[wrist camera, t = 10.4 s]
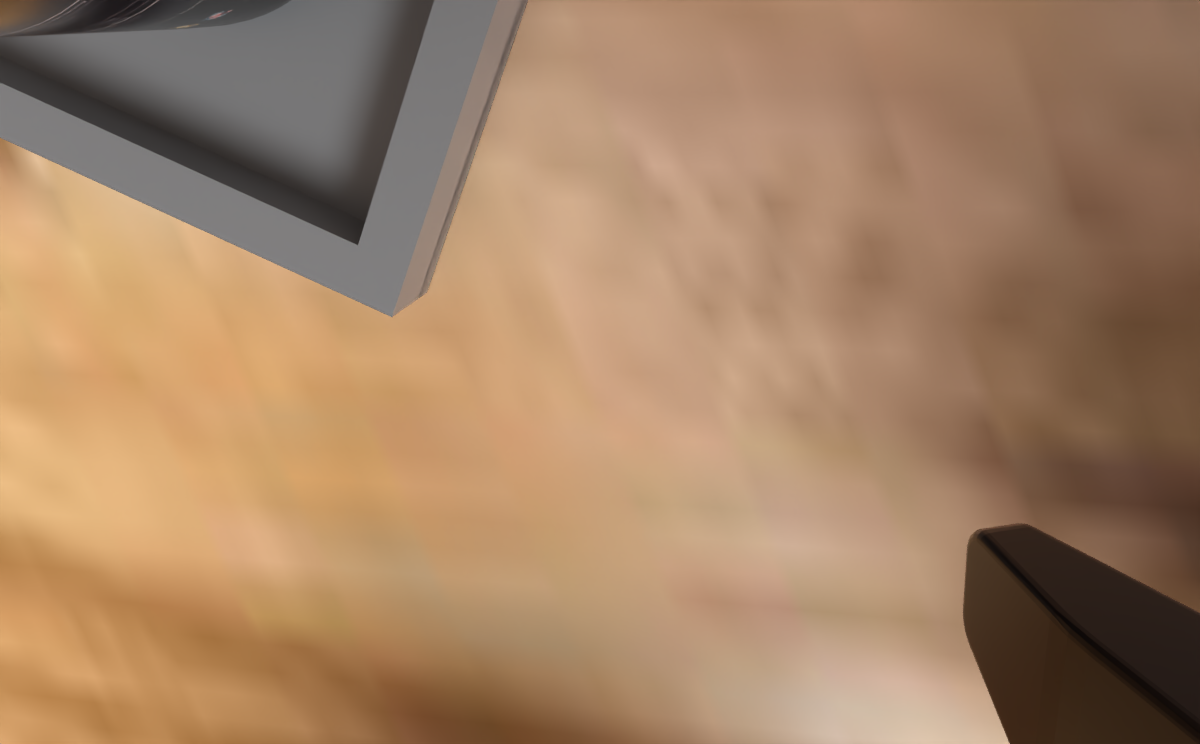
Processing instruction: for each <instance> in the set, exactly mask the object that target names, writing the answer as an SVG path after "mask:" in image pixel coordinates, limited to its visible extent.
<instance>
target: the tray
mask: <svg viewBox="0 0 1200 744" xmlns="http://www.w3.org/2000/svg"><path fill="white" fill-rule="evenodd" d="M527 2H528V0H291V1H289V2H288V3H286V4H285V5H283V6H282V7H280V8H278V9H276V10H274V11H272V12H270V13H268V14H266V15H263V16H260V17H257V18H254V19H252V20H248V21H243V22H239V23H234V24H230V25H223V26H214V27H202V28H189V29H174V30H152V31H129V32H106V33H83V34H61V35H38V36H15V37H0V138H2V139H4V140H7V141H9V142H11V143H13V144H15V145H17V146H20V147H22V148H24V149H26V150H28V151H31V152H33V153H35V154H37V155H39V156H42V157H44V158H46V159H48V160H50V161H52V162H55V163H57V164H59V165H61V166H63V167H66V168H68V169H70V170H72V171H74V172H76V173H79V174H81V175H83V176H85V177H87V178H90V179H92V180H94V181H96V182H98V183H100V184H103V185H105V186H107V187H109V188H111V189H114V190H116V191H118V192H120V193H122V194H124V195H127V196H129V197H131V198H133V199H135V200H138V201H140V202H142V203H144V204H146V205H148V206H151V207H153V208H155V209H157V210H159V211H162V212H164V213H166V214H168V215H170V216H172V217H175V218H177V219H179V220H181V221H183V222H186V223H188V224H190V225H192V226H194V227H196V228H199V229H201V230H203V231H205V232H207V233H210V234H212V235H214V236H216V237H218V238H220V239H223V240H225V241H227V242H229V243H231V244H234V245H236V246H238V247H240V248H242V249H245V250H247V251H249V252H251V253H253V254H255V255H258V256H260V257H262V258H264V259H266V260H269V261H271V262H273V263H275V264H277V265H279V266H282V267H284V268H286V269H288V270H290V271H293V272H295V273H297V274H299V275H301V276H303V277H306V278H308V279H310V280H312V281H314V282H317V283H319V284H321V285H323V286H325V287H327V288H330V289H332V290H334V291H336V292H338V293H341V294H343V295H345V296H347V297H349V298H351V299H354V300H356V301H358V302H360V303H362V304H365V305H367V306H369V307H371V308H373V309H375V310H378V311H380V312H382V313H384V314H386V315H389V316H391V317H393V316H394V315H396V314H397V313H398V312H400V311H401V310H403V309H404V308H405V307H407V306H408V305H410V304H411V303H413V302H414V301H415V300H417V299H418V298H420V297H421V296H422V295H424V294H425V293H427V291H428V288H429V285H430V282H431V279H432V276H433V273H434V270H435V267H436V265H437V262H438V259H439V256H440V253H441V250H442V247H443V244H444V241H445V239H446V236H447V233H448V230H449V227H450V224H451V221H452V218H453V215H454V213H455V210H456V207H457V204H458V201H459V198H460V195H461V192H462V189H463V187H464V184H465V181H466V178H467V175H468V172H469V169H470V166H471V163H472V161H473V158H474V155H475V152H476V149H477V146H478V143H479V140H480V137H481V134H482V132H483V129H484V126H485V123H486V120H487V117H488V114H489V111H490V108H491V106H492V103H493V100H494V97H495V94H496V91H497V88H498V85H499V82H500V80H501V77H502V74H503V71H504V68H505V65H506V62H507V59H508V56H509V54H510V51H511V48H512V45H513V42H514V39H515V36H516V33H517V30H518V28H519V25H520V22H521V19H522V16H523V13H524V10H525V7H526V4H527Z"/></svg>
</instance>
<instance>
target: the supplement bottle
mask: <svg viewBox="0 0 1200 744" xmlns="http://www.w3.org/2000/svg"><path fill="white" fill-rule="evenodd" d="M289 1H291V0H0V37H15V36H38V35H61V34H83V33H106V32H129V31H152V30H174V29H189V28H202V27H214V26H223V25H230V24H234V23H239V22H243V21H248V20H252V19H254V18H257V17H260V16H263V15H266V14H268V13H270V12H272V11H274V10H276V9H278V8H280V7H282V6H283V5H285V4H286V3H288V2H289Z"/></svg>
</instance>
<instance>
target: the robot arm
mask: <svg viewBox="0 0 1200 744" xmlns="http://www.w3.org/2000/svg"><path fill="white" fill-rule="evenodd" d="M963 619H964V626H965V632H966V635H967V639H968V642H969V645H970V647H971V650H972V652H973V655H974V657H975V660H976V662H977V665H978V667H979V669H980V672H981V674H982V677H983V679H984V682H985V684H986V687H987V689H988V692H989V694H990V696H991V699H992V701H993V704H994V706H995V709H996V711H997V714H998V716H999V719H1000V721H1001V724H1002V726H1003V728H1004V731H1005V733H1006V736H1007V738H1008V741H1009V743H1010V744H1200V613H1199V612H1197V611H1195V610H1193V609H1191V608H1189V607H1187V606H1186V605H1184V604H1182V603H1180V602H1178V601H1176V600H1174V599H1172V598H1170V597H1168V596H1166V595H1164V594H1162V593H1160V592H1158V591H1157V590H1155V589H1153V588H1151V587H1149V586H1147V585H1145V584H1143V583H1141V582H1139V581H1137V580H1135V579H1133V578H1131V577H1129V576H1128V575H1126V574H1124V573H1122V572H1120V571H1118V570H1116V569H1114V568H1112V567H1110V566H1108V565H1106V564H1104V563H1102V562H1100V561H1099V560H1097V559H1095V558H1093V557H1091V556H1089V555H1087V554H1085V553H1083V552H1081V551H1079V550H1077V549H1075V548H1073V547H1071V546H1070V545H1068V544H1066V543H1064V542H1062V541H1060V540H1058V539H1056V538H1054V537H1052V536H1050V535H1048V534H1046V533H1044V532H1042V531H1041V530H1039V529H1037V528H1035V527H1032V526H1030V525H1027V524H1011V525H1004V526H998V527H991V528H985V529H979V530H977V531H976V532H974V533H973V534H972V535H971V536H970V539H969V542H968V546H967V556H966V572H965V588H964V604H963Z"/></svg>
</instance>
